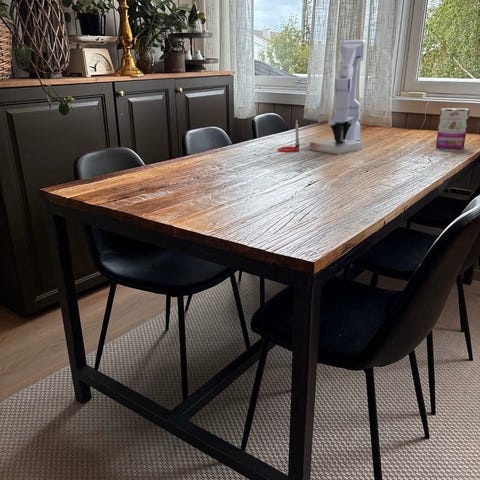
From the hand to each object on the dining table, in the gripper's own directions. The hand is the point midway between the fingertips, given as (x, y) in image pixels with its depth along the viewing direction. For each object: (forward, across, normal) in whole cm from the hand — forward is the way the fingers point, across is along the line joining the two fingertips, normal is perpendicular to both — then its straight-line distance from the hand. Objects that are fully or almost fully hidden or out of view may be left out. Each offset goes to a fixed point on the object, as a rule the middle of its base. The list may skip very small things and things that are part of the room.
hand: (339, 140), depth 201 cm
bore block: (+4, 0, -2) cm, 4 cm away
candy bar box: (+4, -36, +31) cm, 48 cm away
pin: (+3, 0, 0) cm, 3 cm away
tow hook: (+4, +16, -15) cm, 22 cm away
